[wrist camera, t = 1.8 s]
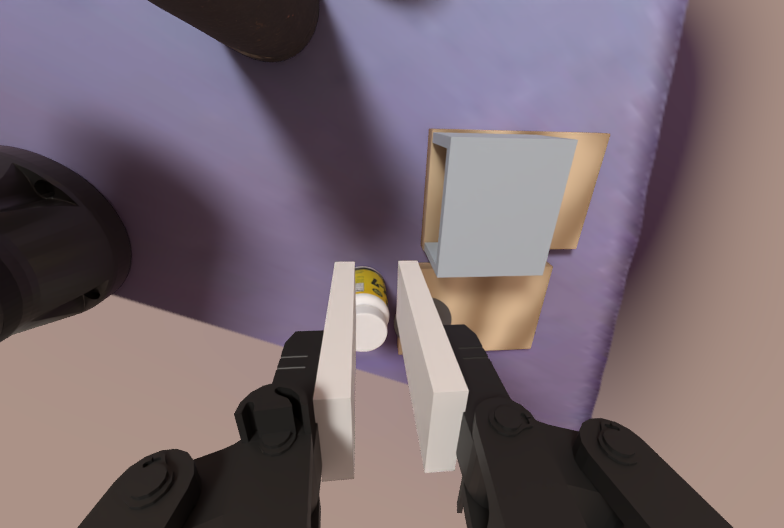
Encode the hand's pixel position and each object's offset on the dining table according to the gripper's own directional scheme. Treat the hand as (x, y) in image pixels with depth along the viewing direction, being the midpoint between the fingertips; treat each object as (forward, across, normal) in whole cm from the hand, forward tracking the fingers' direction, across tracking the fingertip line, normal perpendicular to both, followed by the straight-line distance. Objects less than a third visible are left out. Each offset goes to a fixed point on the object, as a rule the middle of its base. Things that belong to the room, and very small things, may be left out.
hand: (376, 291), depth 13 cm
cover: (+17, +10, 0) cm, 19 cm away
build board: (+18, +12, -13) cm, 25 cm away
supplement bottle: (+19, 0, -10) cm, 21 cm away
